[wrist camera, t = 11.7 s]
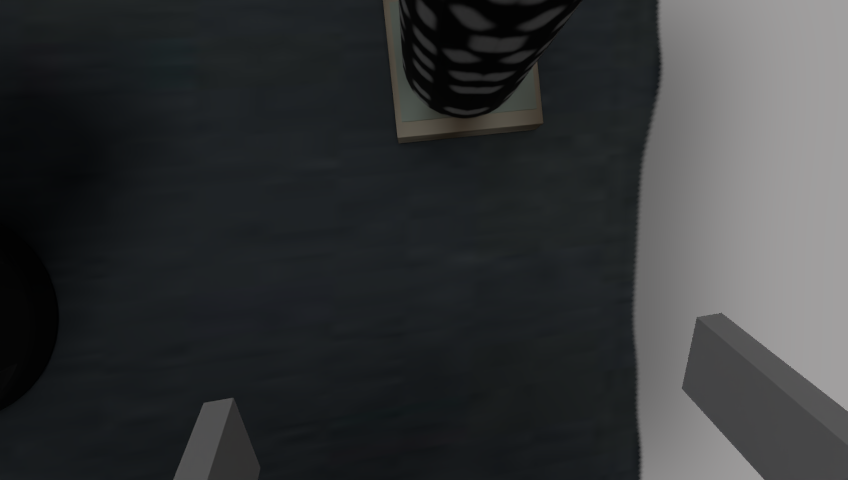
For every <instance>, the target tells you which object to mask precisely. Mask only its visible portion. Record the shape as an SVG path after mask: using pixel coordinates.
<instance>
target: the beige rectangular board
mask: <svg viewBox="0 0 848 480" xmlns="http://www.w3.org/2000/svg"><path fill="white" fill-rule="evenodd" d="M383 5H384V14H385V23H386V33H387V42H388V52H389V61H390V70H391V80H392V89H393V99H394V108H395V117H396V127H397V136H398V143H408V142H418V141H427V140H437V139H447V138H457V137H467V136H477V135H487V134H497V133H507V132H517V131H526V130H535V129H537V128H538V127H539V126H540V125H542V124H543V116H542V106H541V95H540V85H539V75H538V65H537V62H536V63H535V65H534V66H533V67H532V69H531V70H530V71H529V73H528V74H527V75H526V77H525V78H524V80H523V81H522V82H521V84H520V85H519V86H518V88H517V89H516V90H515V92H514V93H513V94H512V95H511V96H510V98H509V99H508V100H507V101H506V102H505V103H504V104H502V105H501V106H500V107H499V108H497V109H495V110H493V111H492V112H490V113H488V114H485V115H482V116H478V117H474V118H455V117H450V116H446V115H443V114H440V113H438V112H436V111H435V110H433V109H431V108H429V107H428V106H427V105H426V104H424V103H423V102H422V101H421V100H420V99H419V98H418V97H417V95H416V94H415V93H414V92H413V90H412V89H411V87H410V85H409V83H408V81H407V79H406V75H405V72H404V69H403V61H402V48H401V31H400V15H399V0H383Z"/></svg>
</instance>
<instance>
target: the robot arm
mask: <svg viewBox="0 0 848 480" xmlns="http://www.w3.org/2000/svg"><path fill="white" fill-rule="evenodd" d="M56 329H57V309H56V301H55V296H54V292H53V288H52V285H51V282H50V280H49V277H48V275H47V273H46V271H45V269H44V267H43V265H42V264H41V262H40V260H39V259H38V258H37V256H36V255H35V254H34V252H33V251H32V250H31V249H30V247H29V246H28V245H27V244H26V243H25V242H24V241H23V240H21V239H20V238H19V237H18V236H17V235H16V234H14V233H13V232H12V231H10V230H9V229H7V228H6V227H4V226H2V225H1V224H0V410H2V409H3V408H5V407H7V406H9V405H10V404H11V403H13V402H14V401H16V400H17V399H18V398H20V397H21V396H22V395H23V394H24V393H25V392H26V391H27V390H28V389H29V388H30V387H31V386H32V385H33V384H34V382H35V381H36V380H37V378H38V377H39V376H40V374H41V373H42V371H43V369H44V367H45V366H46V363H47V361H48V359H49V357H50V354H51V352H52V348H53V345H54V341H55V336H56ZM682 389H683V390H684V391H685V392H686V394H687V395H688V396H689V397H690V398H691V399H692V400H693V401H694V402H695V403H696V405H697V406H698V407H699V408H700V409H701V410H702V411H703V412H704V413H705V414H706V416H707V417H708V418H709V419H710V420H711V421H712V422H713V423H714V424H715V425H716V427H717V428H718V429H719V430H720V431H721V432H722V433H723V434H724V435H725V437H726V438H727V439H728V440H729V441H730V442H731V443H732V444H733V445H734V446H735V448H736V449H737V450H738V451H739V452H740V453H741V454H742V455H743V456H744V458H745V459H746V460H747V461H748V462H749V463H750V464H751V465H752V466H753V468H754V469H755V470H756V471H757V472H758V473H759V474H760V475H761V476H762V477H763V479H764V480H848V411H846V410H845V409H844V408H843V407H841V406H840V405H839V404H837V403H836V402H835V401H834V400H832V399H831V398H830V397H828V396H827V395H826V394H825V393H823V392H822V391H821V390H819V389H818V388H817V387H816V386H814V385H813V384H812V383H810V382H809V381H808V380H806V379H805V378H804V377H803V376H801V375H800V374H799V373H798V372H796V371H795V370H794V369H792V368H791V367H790V366H789V365H787V364H786V363H785V362H784V361H782V360H781V359H780V358H778V357H777V356H776V355H775V354H773V353H772V352H770V351H769V350H768V349H767V348H766V347H764V346H763V345H762V344H761V343H759V342H758V341H757V340H755V339H754V338H753V337H751V336H750V335H749V334H747V333H746V332H745V331H744V330H743V329H741V328H740V327H739V326H737V325H736V324H735V323H734V322H732V321H731V320H730V319H728V318H727V317H726V316H725V315H723V314H722V313H719V314H713V315H708V316H702V317H697V319H696V324H695V329H694V334H693V338H692V343H691V348H690V353H689V357H688V362H687V367H686V372H685V377H684V382H683V386H682ZM259 471H260V466H259V463H258V460H257V458H256V455H255V453H254V450H253V447H252V445H251V442H250V440H249V437H248V434H247V432H246V429H245V426H244V424H243V421H242V419H241V416H240V413H239V411H238V408H237V405H236V403H235V400H234V398H229V399H223V400H218V401H212V402H206V403H204V404H203V406H202V409H201V411H200V414H199V416H198V419H197V421H196V424H195V426H194V429H193V431H192V434H191V437H190V439H189V442H188V444H187V447H186V449H185V452H184V454H183V457H182V459H181V462H180V464H179V467H178V469H177V472H176V474H175V477H174V479H173V480H258V476H259Z"/></svg>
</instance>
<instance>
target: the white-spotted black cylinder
mask: <svg viewBox="0 0 848 480" xmlns="http://www.w3.org/2000/svg"><path fill="white" fill-rule="evenodd" d="M581 2H582V0H399V15H400V31H401V48H402V61H403V69H404V72H405V75H406V79H407V81H408V83H409V85H410V87H411V89H412V90H413V92H414V93H415V94H416V95H417V97H418V98H419V99H420V100H421V101H422V102H423V103H424V104H426V105H427V106H428V107H429V108H431V109H433V110H435V111H436V112H438V113H440V114H443V115H446V116H450V117H455V118H474V117H478V116H482V115H485V114H488V113H490V112H492V111H493V110H495V109H497V108H499V107H500V106H501V105H502V104H504V103H505V102H506V101H507V100H508V99H509V98H510V96H511V95H512V94H513V93H514V92H515V90H516V89H517V88H518V86H519V85H520V84H521V82H522V81H523V80H524V78H525V77H526V75H527V74H528V73H529V71H530V70H531V69H532V67H533V66H534V65H535V63H536V62H537V61H538V59H539V58H540V57H541V55H542V54H543V53H544V51H545V50H546V49H547V47H548V46H549V45H550V43H551V42H552V41H553V39H554V38H555V37H556V35H557V34H558V33H559V31H560V30H561V29H562V27H563V26H564V25H565V23H566V22H567V20H568V19H569V18H570V16H571V15H572V14H573V12H574V11H575V10H576V8H577V7H578V6H579V4H580V3H581Z"/></svg>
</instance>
